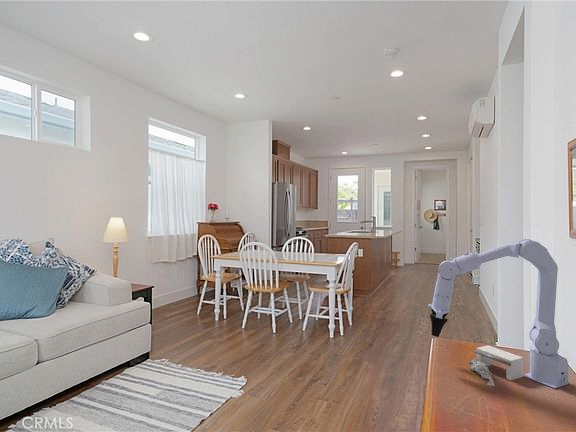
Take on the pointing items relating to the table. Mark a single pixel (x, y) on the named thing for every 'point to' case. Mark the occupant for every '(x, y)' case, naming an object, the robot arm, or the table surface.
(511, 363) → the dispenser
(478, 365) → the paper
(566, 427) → the table surface
